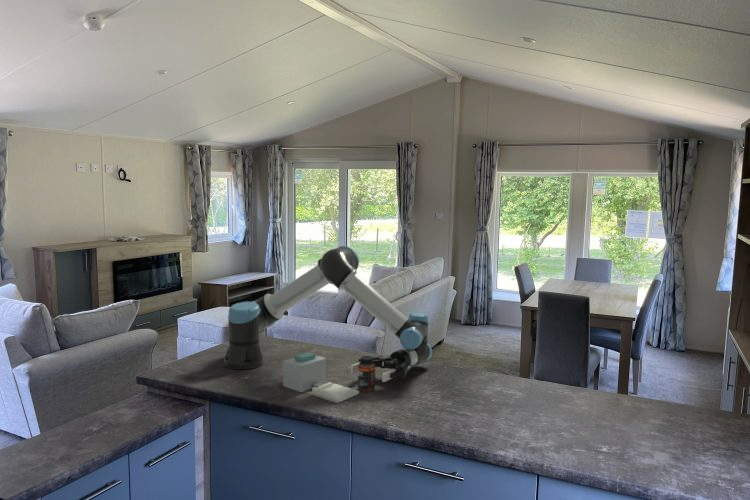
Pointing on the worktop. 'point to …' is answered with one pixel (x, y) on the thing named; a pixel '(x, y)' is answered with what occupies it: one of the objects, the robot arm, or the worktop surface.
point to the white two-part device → (313, 378)
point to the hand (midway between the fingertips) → (367, 373)
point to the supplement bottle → (366, 374)
